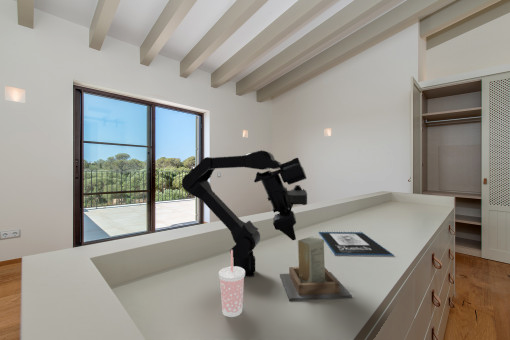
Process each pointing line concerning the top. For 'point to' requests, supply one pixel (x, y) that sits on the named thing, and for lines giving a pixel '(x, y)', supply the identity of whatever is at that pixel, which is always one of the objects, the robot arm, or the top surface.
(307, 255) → the skincare box
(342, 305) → the top surface
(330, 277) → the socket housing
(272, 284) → the top surface
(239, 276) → the beverage cup
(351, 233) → the sketchbook
